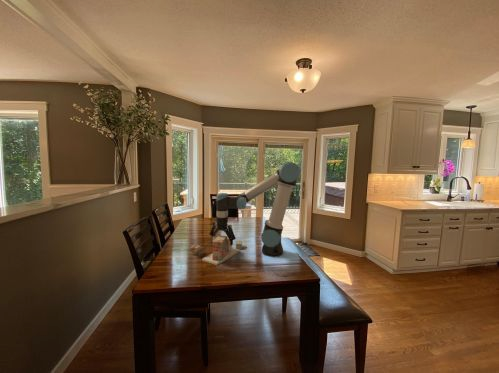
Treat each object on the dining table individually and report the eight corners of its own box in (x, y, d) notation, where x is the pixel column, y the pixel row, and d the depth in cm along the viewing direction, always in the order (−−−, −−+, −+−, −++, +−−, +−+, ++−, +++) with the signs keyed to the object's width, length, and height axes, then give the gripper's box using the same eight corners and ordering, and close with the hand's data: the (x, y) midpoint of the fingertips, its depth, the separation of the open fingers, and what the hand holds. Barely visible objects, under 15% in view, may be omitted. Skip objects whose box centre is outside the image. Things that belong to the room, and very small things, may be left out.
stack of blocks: (222, 247, 165) (222, 231, 164) (231, 248, 164) (231, 231, 163) (212, 259, 144) (212, 241, 143) (221, 260, 143) (221, 241, 142)
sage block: (242, 245, 173) (242, 240, 173) (241, 249, 166) (241, 244, 166) (236, 245, 173) (236, 240, 173) (236, 249, 166) (236, 243, 166)
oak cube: (200, 252, 159) (200, 245, 158) (196, 255, 154) (196, 248, 154) (193, 251, 160) (193, 244, 160) (190, 254, 156) (189, 247, 155)
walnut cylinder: (206, 255, 154) (206, 247, 153) (201, 258, 150) (201, 249, 149) (201, 254, 156) (201, 245, 155) (196, 256, 152) (196, 247, 151)
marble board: (240, 251, 162) (240, 249, 162) (216, 265, 140) (216, 263, 140) (226, 247, 168) (226, 246, 168) (202, 260, 146) (202, 258, 146)
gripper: (241, 218, 148) (240, 249, 150) (211, 213, 161) (211, 242, 163) (234, 220, 141) (234, 253, 144) (204, 215, 154) (204, 245, 157)
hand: (222, 247), depth 153 cm, fingers open, 13 cm apart
